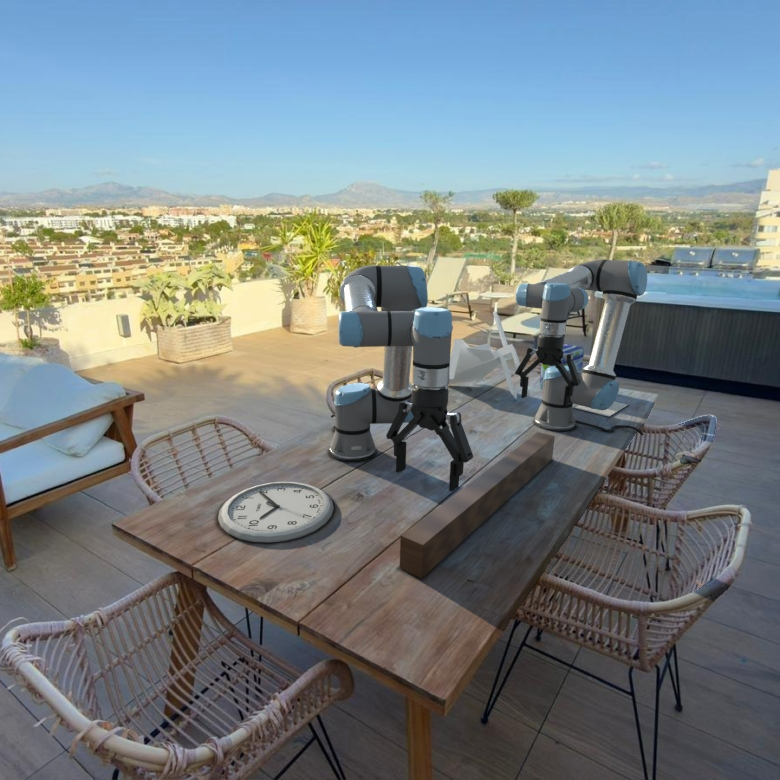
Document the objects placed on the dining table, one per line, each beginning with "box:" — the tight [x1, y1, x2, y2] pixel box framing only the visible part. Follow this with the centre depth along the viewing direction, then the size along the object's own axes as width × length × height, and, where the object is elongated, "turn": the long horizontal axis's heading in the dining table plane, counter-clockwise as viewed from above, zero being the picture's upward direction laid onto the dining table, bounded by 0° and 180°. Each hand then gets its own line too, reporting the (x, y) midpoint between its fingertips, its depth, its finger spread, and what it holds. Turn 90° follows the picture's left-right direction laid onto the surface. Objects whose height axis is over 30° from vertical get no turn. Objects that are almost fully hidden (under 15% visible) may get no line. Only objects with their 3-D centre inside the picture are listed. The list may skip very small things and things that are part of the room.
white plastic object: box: [447, 310, 531, 400], centre depth 245 cm, size 37×45×31 cm
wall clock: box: [217, 481, 335, 544], centre depth 139 cm, size 30×2×30 cm
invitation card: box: [573, 401, 629, 418], centre depth 226 cm, size 21×1×15 cm
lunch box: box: [539, 344, 585, 391], centre depth 247 cm, size 26×11×21 cm, turn 134°
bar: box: [399, 431, 556, 579], centre depth 144 cm, size 78×6×8 cm, turn 143°
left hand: (426, 479), depth 113 cm, fingers open, 13 cm apart
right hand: (544, 401), depth 165 cm, fingers open, 13 cm apart
